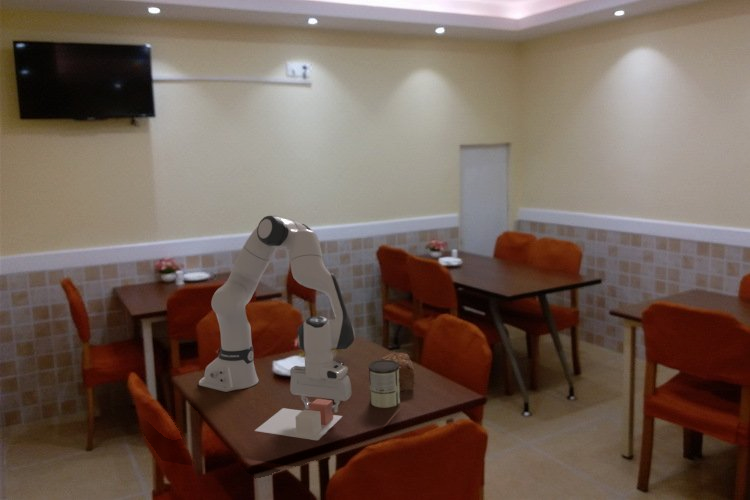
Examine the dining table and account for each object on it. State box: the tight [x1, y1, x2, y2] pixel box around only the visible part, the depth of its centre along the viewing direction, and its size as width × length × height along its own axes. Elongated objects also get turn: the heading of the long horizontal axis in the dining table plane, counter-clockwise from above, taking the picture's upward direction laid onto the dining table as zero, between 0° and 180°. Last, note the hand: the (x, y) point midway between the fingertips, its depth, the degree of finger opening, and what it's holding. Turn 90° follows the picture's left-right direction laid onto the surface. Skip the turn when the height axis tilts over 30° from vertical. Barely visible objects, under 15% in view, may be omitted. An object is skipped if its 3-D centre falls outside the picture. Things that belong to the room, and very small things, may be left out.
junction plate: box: [254, 407, 343, 441], centre depth 207 cm, size 22×18×1 cm
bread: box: [381, 352, 415, 392], centre depth 240 cm, size 19×11×10 cm, turn 4°
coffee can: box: [368, 359, 401, 409], centre depth 220 cm, size 10×10×14 cm
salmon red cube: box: [308, 398, 334, 425], centre depth 208 cm, size 6×6×6 cm
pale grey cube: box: [296, 408, 321, 438], centre depth 200 cm, size 6×6×6 cm
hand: (321, 409), depth 208 cm, fingers open, 8 cm apart
